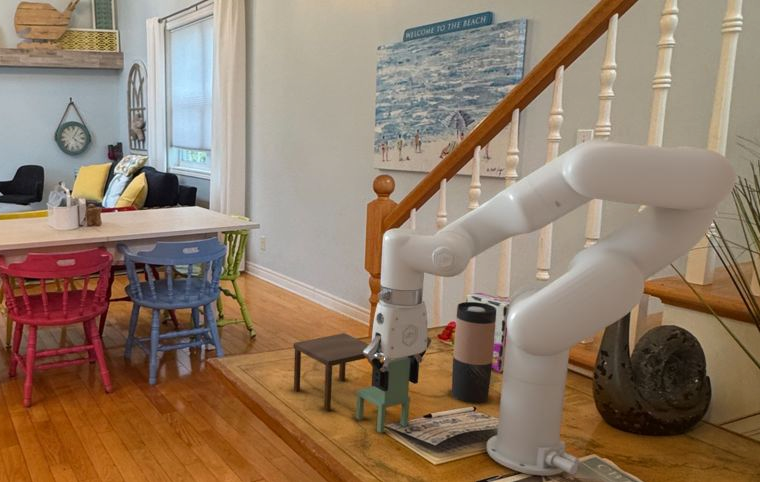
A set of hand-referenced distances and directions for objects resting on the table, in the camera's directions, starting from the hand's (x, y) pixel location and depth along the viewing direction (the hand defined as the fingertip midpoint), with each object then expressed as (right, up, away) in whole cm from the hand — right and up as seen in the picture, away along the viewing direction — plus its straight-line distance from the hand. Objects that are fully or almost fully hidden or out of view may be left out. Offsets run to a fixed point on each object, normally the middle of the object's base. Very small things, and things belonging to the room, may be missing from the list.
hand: (395, 384), depth 121 cm
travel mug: (+21, -6, +15) cm, 27 cm away
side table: (-7, -6, +17) cm, 20 cm away
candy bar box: (+34, -3, +33) cm, 47 cm away
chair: (-1, -8, +4) cm, 10 cm away
